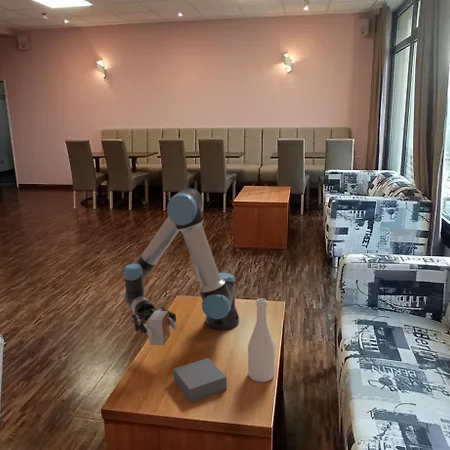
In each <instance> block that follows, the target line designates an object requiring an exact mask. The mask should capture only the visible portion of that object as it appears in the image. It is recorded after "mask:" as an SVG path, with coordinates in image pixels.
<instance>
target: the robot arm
mask: <svg viewBox="0 0 450 450" xmlns="http://www.w3.org/2000/svg"><path fill="white" fill-rule="evenodd" d="M202 206H203V197H202V196H201V193H200V192H199V191H198V190H196V188H195V189H194V188H191V187H185V188H182V189H181V190H180V191H178V192H177V193H176V194H174V195H173V196H171V198H170V199H169V201H168V203H167V206H166V207H167V208H166V210H167V216H168V217H166V218H165V221H164V222H162V223H163V224H162V225H161V226H160V228H159V229H158V231H157V232H156V233H155V235H154V236H153V238H152V240H151V241H150V242H149V243H148V245H147V247H146V248H145V249H144V251H143V253H142V254H141V255H140V256H139V258H138V259H137V260H136V262H135V263H129V264H128V265H125V266H124V268H123V278H124V284H125V294H124V296H123V298H124V302H125V303H126V305H127V307H129V308H130V309H131V310H132V312H133V313H134V314H131V322H132V323H133V325H134V331H135V332H139V331H140V333H143V334H147V336H148V338H149V337H150V338H152V331H151V329H150V328H149V327H148V324H147V323H148V319H149V318H150V317H151V315H152V314H153V313H154V311H168V314H169V327H171V328H172V329H173V330H174V331H178V328H177V327H178V325H177V323H176V321H177V315H176V313H173V312H172V311H169V310H168V309H167V308H165V307H163V306H162V307H161V308H160V309H158V308H156V307H155V305H153V303H152V302H151V301H150V300H149V299H148V298H146V296H145V289H144V281H145V279H146V278H147V277H148V276H149V274H150V273H151V272H153V268H154V267H155V266H156V265H157V263H158V262H159V260H160V259H161V257H163V255H164V253H165V252H166V251H167V249H168V248H169V246H170V244H172V242H173V240H174V239H175V238H176V236H177V235H178V233H179V232H181V234H182V237H183V240H184V242H185V245H186V247H187V251H188V252H189V255H190V259H191V262H192V264H193V267H194V270H195V273H196V276H197V278H198V281H199V284H200V286H199V288H198V291H199V295H200V298H201V300H202V302H201V309H202V312H203V313H204V315H205V324H206V325H207V327H208V328H211V329H214V330H219V331H221V330H232V329H233V328H236V327H237V326H238V325H239V323H240V317H239V316H240V315H239V313H238V311H237V307H236V289H235V288H236V287H235V285H236V279H235V276H234V275H233V274H231V273H228V272H219V270H218V267H217V264H216V262H215V259H214V256H213V253H212V250H211V247H210V245H209V241H208V238H207V236H206V233H205V230H204V227H203V224H204V221H205V218H204V216H203V212H202V210H201V208H202ZM138 320H140V324H139V321H138Z"/></svg>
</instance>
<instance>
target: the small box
mask: <svg viewBox="0 0 450 450" xmlns="http://www.w3.org/2000/svg"><path fill="white" fill-rule="evenodd" d="M168 311H169V310H168ZM168 311H154V313H153V314H152V315H151V317H150V318H149V319H148V320H147V326H148V327H149V328H150V329H151V331H152V338H150V337H149V336H148V338H149V346H165V345H166V343H167V341H168V340H169V338H170V337H171V333H170V332H171V331H170V325H169V314H168Z"/></svg>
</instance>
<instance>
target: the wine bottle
mask: <svg viewBox="0 0 450 450" xmlns="http://www.w3.org/2000/svg"><path fill="white" fill-rule="evenodd" d="M255 304H256V321H255V325H254V327H253V331H252V334H251V336H250V339H249V342H248V345H247V374H248V377H249V378H250V379H251V380H253V381H254V382H257V383H265V382H269V381H271V380H272V379H273V378H274V376H275V359H276V358H275V357H276V356H275V353H276V352H275V349H276V347H275V343H274V340H273V337H272V334H271V332H270V329H269V325H268V322H267V306H268V301H267V299H266V298H263V297H260V298H257V299H256V303H255Z"/></svg>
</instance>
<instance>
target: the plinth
mask: <svg viewBox="0 0 450 450" xmlns="http://www.w3.org/2000/svg"><path fill="white" fill-rule="evenodd" d="M172 370H173V371H172V372H173V382H174V384H176V387H178V388H179V390H180V391H181V393H183V395H184V396H185V398H186V399H187V400H188V402H189V403H193V402H195V401H199V400H201V399H204V398H207V397H210V396H212V395H215V394H218V393H222V392H224V391H227V389H228V388H227V387H228V386H227V384H228V382H227V381H228V380H227V376H226V375H225V374H224V372H223V371H221V369H220V368H219V367H218V366H216V364H215V363H214V362H213V361H212V360H211V359H210V358H209V357H206V358H204V359H201V360H197V361H195V362H190V363H188V364H184V365H181V366H178V367H174V368H173V369H172Z"/></svg>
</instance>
